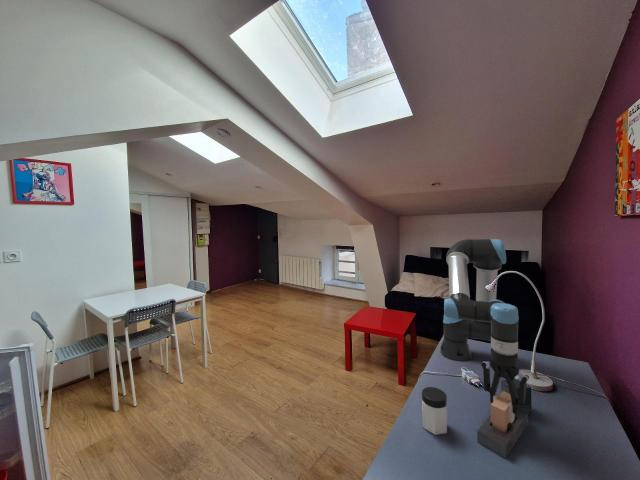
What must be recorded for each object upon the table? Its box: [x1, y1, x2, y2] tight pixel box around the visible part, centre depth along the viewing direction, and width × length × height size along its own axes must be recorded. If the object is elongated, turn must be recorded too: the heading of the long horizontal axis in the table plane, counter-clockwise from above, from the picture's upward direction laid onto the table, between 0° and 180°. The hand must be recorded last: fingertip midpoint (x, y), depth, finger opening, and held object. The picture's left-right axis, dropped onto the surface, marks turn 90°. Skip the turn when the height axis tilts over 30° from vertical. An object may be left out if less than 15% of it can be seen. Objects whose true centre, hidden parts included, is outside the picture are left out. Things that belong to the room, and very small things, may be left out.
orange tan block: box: [490, 391, 514, 434], centre depth 91 cm, size 11×4×10 cm, turn 128°
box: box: [500, 378, 533, 415], centre depth 101 cm, size 8×6×11 cm
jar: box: [421, 386, 448, 436], centre depth 95 cm, size 9×8×12 cm
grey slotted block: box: [476, 409, 529, 459], centre depth 91 cm, size 22×8×4 cm, turn 128°
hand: (503, 416), depth 91 cm, fingers closed on orange tan block, 4 cm apart
